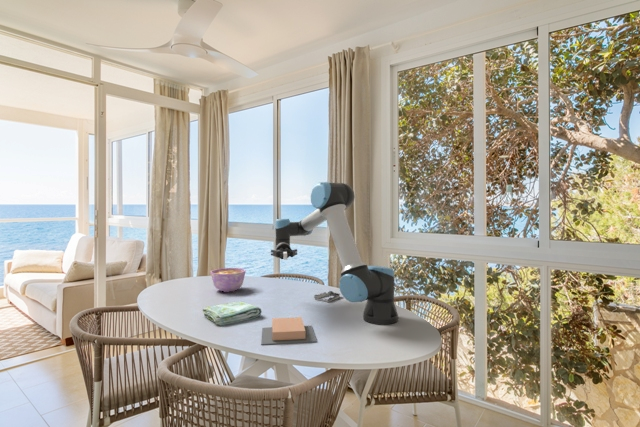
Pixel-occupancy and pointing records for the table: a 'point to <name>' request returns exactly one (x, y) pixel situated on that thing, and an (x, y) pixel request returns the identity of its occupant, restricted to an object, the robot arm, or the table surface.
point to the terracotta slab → (288, 329)
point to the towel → (231, 312)
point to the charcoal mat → (268, 340)
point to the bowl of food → (228, 278)
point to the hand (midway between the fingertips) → (285, 256)
